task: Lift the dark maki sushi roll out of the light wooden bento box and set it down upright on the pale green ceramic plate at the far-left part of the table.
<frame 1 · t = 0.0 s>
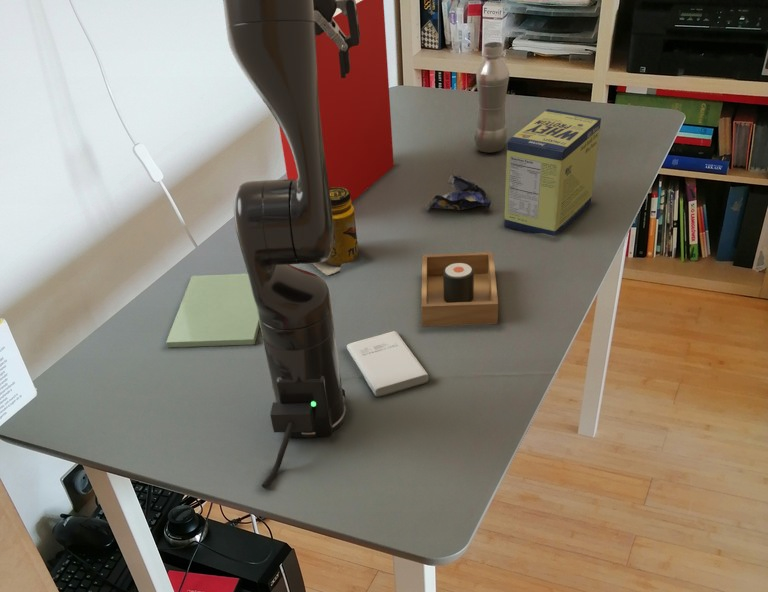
hand: (316, 78, 124), 29 cm above the table, tool pointing down, fingers open, 8 cm apart
sushi roll: (458, 297, 131), point 1 cm above the table, touching bento box
hard drive: (387, 368, 121), on the table
protein box: (547, 216, 150), on the table
snack package: (460, 207, 155), on the table
plastic bottle: (490, 150, 172), on the table
condiment: (337, 261, 144), on the table
sushi plate: (222, 310, 135), on the table
bento box: (458, 301, 132), on the table
book: (343, 192, 163), on the table
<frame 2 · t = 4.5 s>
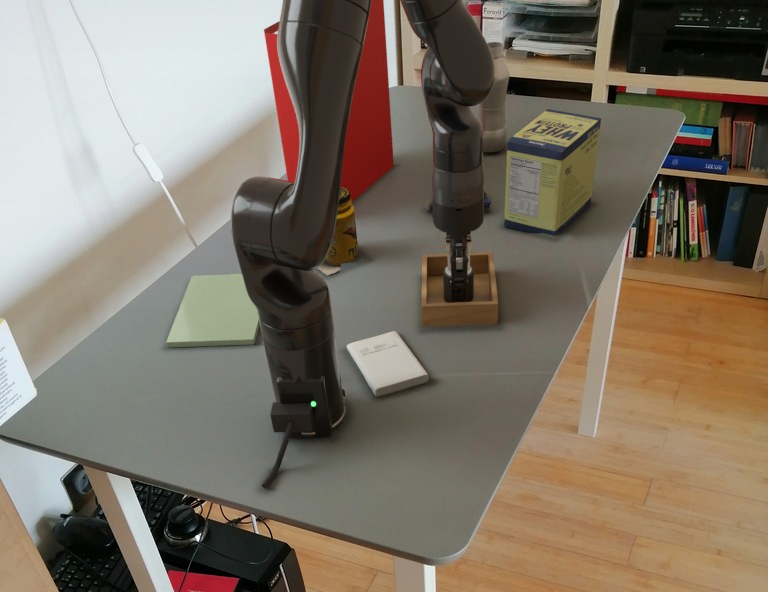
hand: (458, 295, 131), 1 cm above the table, tool pointing down, fingers closed on sushi roll, 4 cm apart
sushi roll: (458, 297, 131), point 1 cm above the table, touching bento box, gripper
everything else where it was.
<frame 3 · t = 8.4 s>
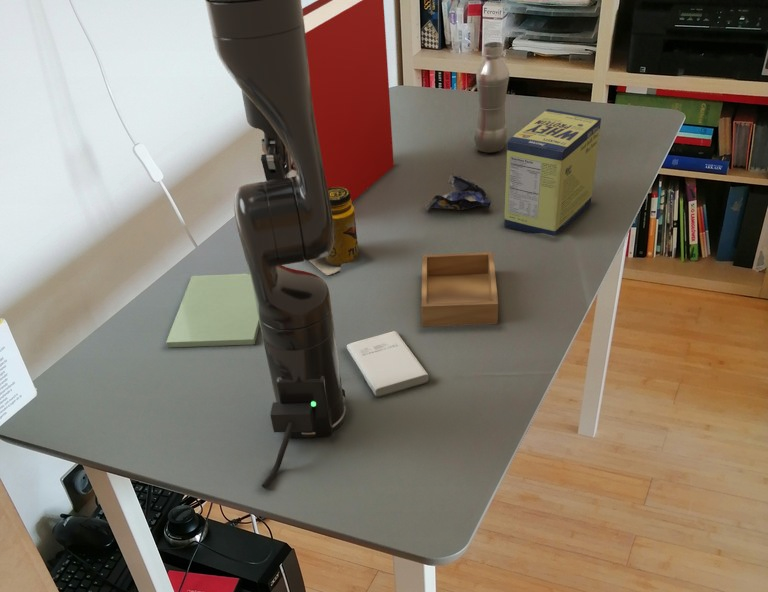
hand: (288, 205, 121), 17 cm above the table, tool pointing down, fingers closed on sushi roll, 4 cm apart
sushi roll: (288, 207, 122), point 17 cm above the table, touching gripper
everything else where it was.
when the fingers open (1 cm above the table, at t = 12.2 s): sushi roll stays where it is, resting on sushi plate.
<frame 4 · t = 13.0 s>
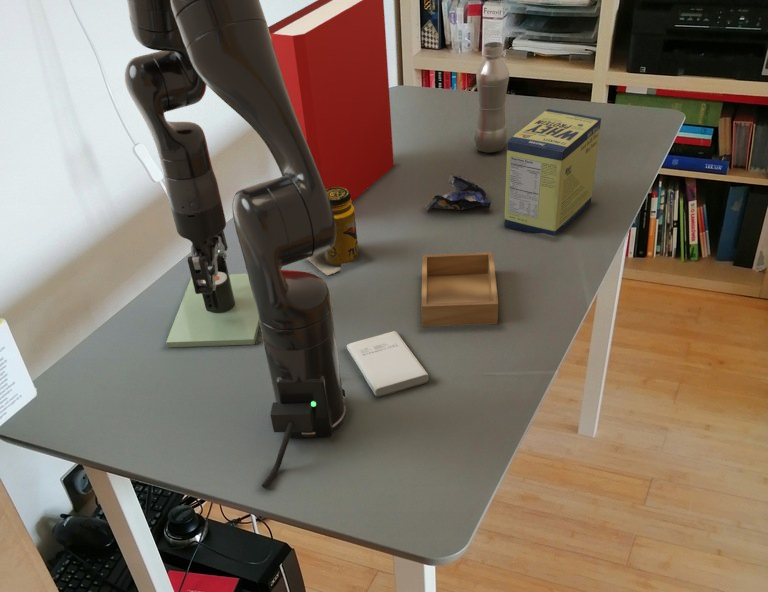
hand: (218, 295, 133), 3 cm above the table, tool pointing down, fingers open, 8 cm apart
sushi roll: (220, 305, 134), point 1 cm above the table, touching sushi plate
everything else where it was.
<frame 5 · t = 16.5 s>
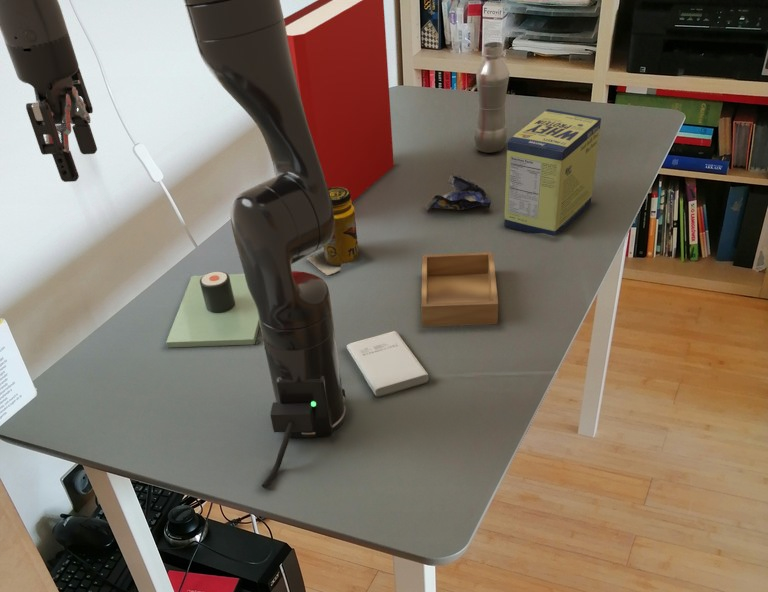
hand: (80, 166, 110), 28 cm above the table, tool pointing down, fingers open, 8 cm apart
nothing on the table moved.
at the end: sushi roll inside the target area on the sushi plate (0.1 cm from its centre), point 1.0 cm above the sushi plate's base; sushi roll tilted 0°; the gripper is holding nothing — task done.
